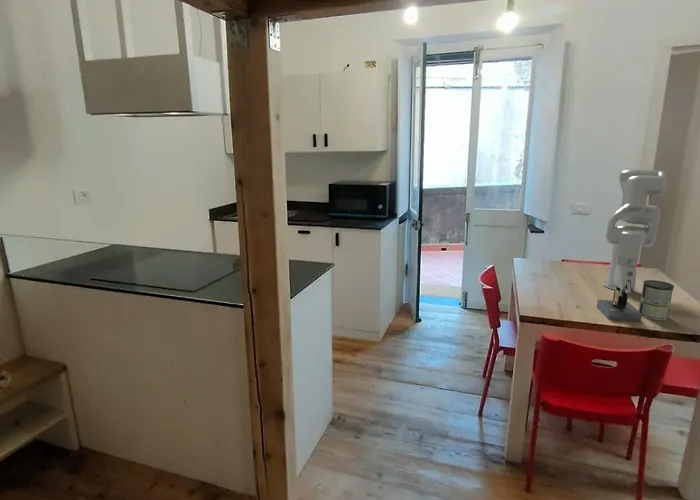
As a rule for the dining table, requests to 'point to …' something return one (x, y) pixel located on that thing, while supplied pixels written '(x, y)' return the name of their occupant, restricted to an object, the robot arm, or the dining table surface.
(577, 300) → the dining table surface
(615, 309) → the jig
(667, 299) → the coffee can
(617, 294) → the gold rounded cylinder
